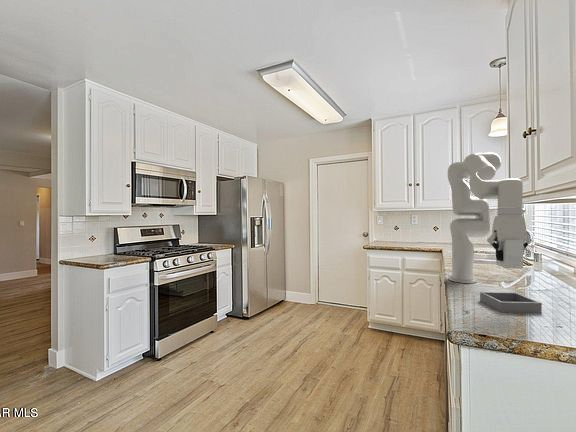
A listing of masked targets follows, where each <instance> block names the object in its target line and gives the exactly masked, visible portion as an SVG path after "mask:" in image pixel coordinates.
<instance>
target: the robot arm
mask: <svg viewBox="0 0 576 432" xmlns="http://www.w3.org/2000/svg"><path fill="white" fill-rule="evenodd" d="M501 165H502V160H501V157H500V155H498V154H497V153H495V152H484V153H483V152H477V153H471V154H469V155H467V156H465V158H464V159H463V161H456V162H453V163H451V164H450V165H449V166H448V168H447V179H448V183H449V185H450V189H451V201H452V202H451V203H452V204H451V205H452V212H453V215H455V216H459V217H460V216H463V217H464V218H454V219H453V220H452V221H451V222H450V225H449V229H450V234H451V236H450V237H451V275H450V276H448V280H449V281H451V282H455V283H460V284H475V283H477V282H478V279H477V278H475V277H474V267H475V266H474V263H475V262H474V258H475V257H474V249H475V248H474V245H473V242H472V241H471V240H470V239H469V238H486V237H488V236H489V235H490V232H491V235H490V236H489V237H488V238H487V239H486V241H487V243H489V245H490V246H492V247H493V249H494V250H495V258H496V259H495V261H496V260H499V261H503V250H502V247H503V243H504V240H523V251H525V249H526V248H527V247H528V246H529V245H530V244H531V243H532V242H533V239H532V238H531V237H530V236H529V235H528V234H527V224H526V219H525V216H524V215H523V214H524V213H526V209H524V208H523V195H524V194H523V193H524V192H523V190H524V189H523V187H524V186H523V184H524V183H523V180H522V179H520V178H505V179H500V180H499V179H496V180H493V178H494V177H495V175H496V172H497V171H498V170H499V169H500V168H501ZM464 179H466V180H468V179H469V181H468V183H467V181H466V180H464ZM472 194H473V196H472ZM488 200H497V215H495V216H494V218H493V222H492V230H491V221H490V205H489V202H488ZM474 216H475V218H472V217H474ZM467 217H471V218H467Z"/></svg>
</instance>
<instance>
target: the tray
mask: <svg viewBox="0 0 576 432" xmlns="http://www.w3.org/2000/svg"><path fill="white" fill-rule="evenodd" d="M479 294H480V295H479V301H480V302H482V303H483V304H485V305H487V306H489V307H491V308H492V309H494V310H496V311H498V312H500V313H527V314H529V313H531V314H542V309H543V307H542V305H543V303H542V302H540V301H538V300H535V299H533V298H531V297H528V296H526V295H524V294H521V293H518V292H509V291H507V292H505V291H504V292H503V291H502V292H501V291H499V292H498V291H497V292H496V291H494V292H493V291H480V292H479Z"/></svg>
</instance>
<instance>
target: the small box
mask: <svg viewBox="0 0 576 432" xmlns="http://www.w3.org/2000/svg"><path fill="white" fill-rule="evenodd" d="M523 243H524V242H523V240H504V243H503V247H502V250H503V261H499V260H496V259H495V261H496V264H495V265H496V266H498V267H502V268H503V269H512V270H514V269H516V270H519V269H520V270H524V250H523Z"/></svg>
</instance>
